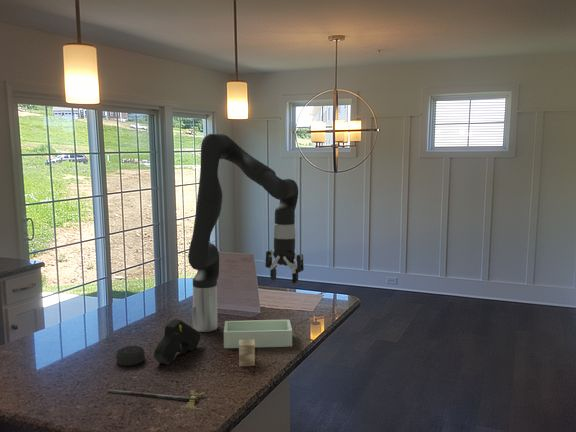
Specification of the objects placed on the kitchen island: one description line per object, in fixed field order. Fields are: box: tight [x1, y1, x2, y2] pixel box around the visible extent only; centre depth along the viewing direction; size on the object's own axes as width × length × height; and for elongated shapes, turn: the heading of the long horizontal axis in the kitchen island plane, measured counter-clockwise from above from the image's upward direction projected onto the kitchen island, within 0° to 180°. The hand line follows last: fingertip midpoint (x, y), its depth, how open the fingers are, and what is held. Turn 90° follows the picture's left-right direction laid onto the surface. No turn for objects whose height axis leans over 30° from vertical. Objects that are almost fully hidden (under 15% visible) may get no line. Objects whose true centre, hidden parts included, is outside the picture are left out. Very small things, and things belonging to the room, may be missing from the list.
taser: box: [153, 318, 202, 366], centre depth 172 cm, size 4×18×15 cm
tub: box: [223, 319, 293, 349], centre depth 186 cm, size 24×12×6 cm, turn 95°
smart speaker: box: [115, 345, 146, 367], centre depth 167 cm, size 9×9×4 cm
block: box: [238, 339, 256, 367], centre depth 166 cm, size 5×5×7 cm
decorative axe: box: [107, 389, 206, 410], centre depth 144 cm, size 30×2×10 cm
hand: (284, 281), depth 181 cm, fingers open, 8 cm apart
